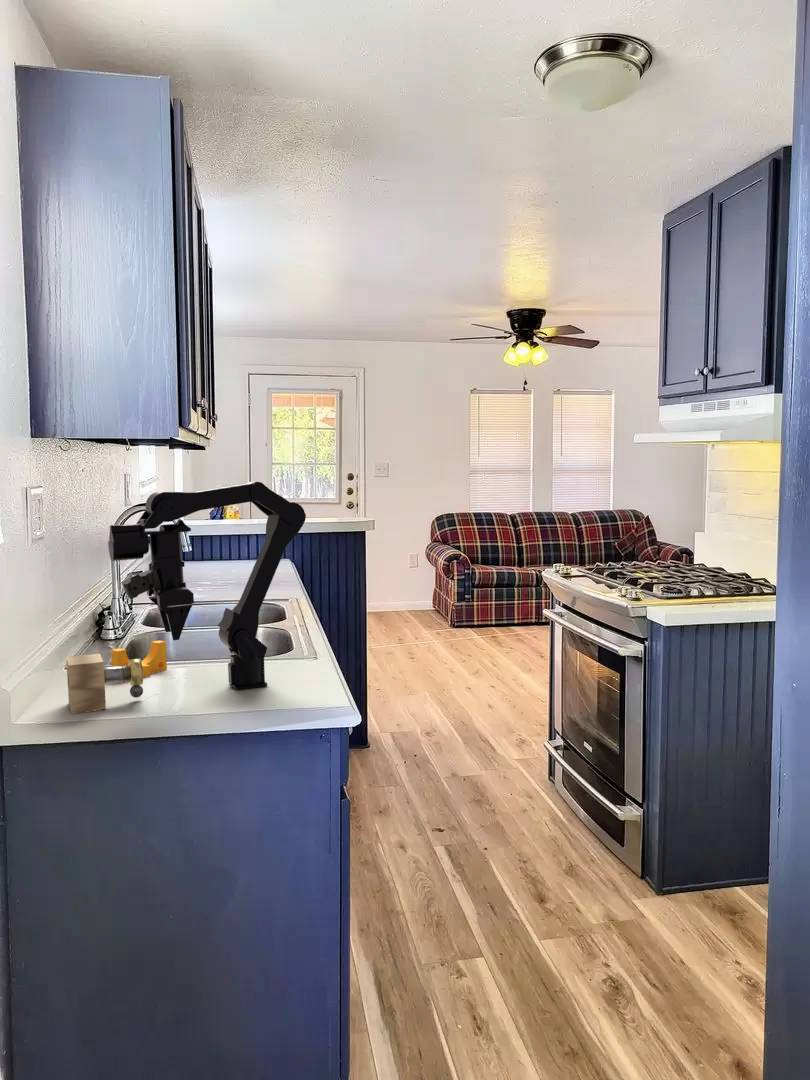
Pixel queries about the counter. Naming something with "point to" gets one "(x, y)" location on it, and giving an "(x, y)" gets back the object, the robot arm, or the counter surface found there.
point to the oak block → (86, 683)
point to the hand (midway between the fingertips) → (172, 635)
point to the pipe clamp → (149, 664)
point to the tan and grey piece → (127, 676)
